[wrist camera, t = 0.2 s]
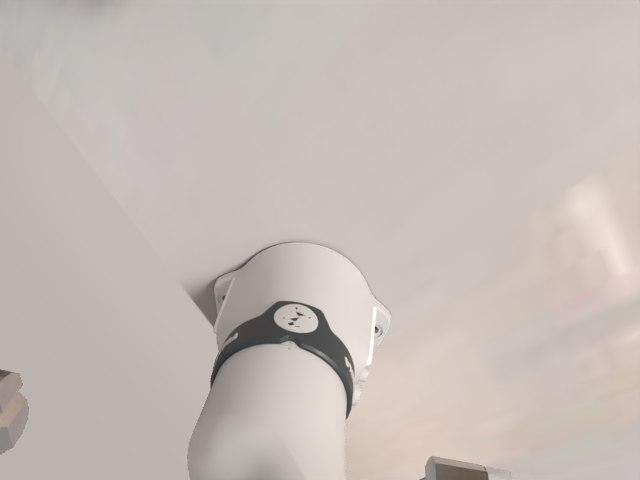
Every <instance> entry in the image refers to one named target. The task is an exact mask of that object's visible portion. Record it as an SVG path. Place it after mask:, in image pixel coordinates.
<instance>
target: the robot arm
mask: <svg viewBox="0 0 640 480" xmlns="http://www.w3.org/2000/svg"><path fill="white" fill-rule="evenodd" d="M214 294H215V302H216V310H217V320H216V322H215V325H214V333H216V334H217V344H218V349H219V353H218V355H217V357H216V360H215V363H214V367H213V373H212V376H211V390H210V393H209V395H208V397H207V400H206V402H205V405H204V407H203V409H202V412H201V415H200V417H199V419H198V422H197V424H196V426H195V429H194V431H193V434H192V437H191V439H190V442H189V448H188V470H189V475H190V478H191V480H346V471H345V422H346V419H347V418H348V416H349V413H350V411H351V406H354V405H357V403H358V401H359V398H360V395H361V391H362V385H360V384H359V383H357V382H358V381H361V382H365V381H366V379H367V377H368V373H369V369H368V368H366V367H367V365H370V364H371V360H372V356H373V355H374V353H375V351H376V349H377V348H378V346H379V344H380V342H381V341H382V339H383V337H384V335H385V334H386V332H387V330H388V328H389V326H390V322H391V315H390V313H389V311H388V310H387V309H386V308H385V307H384V306H383V305H382V304H381V303H380V302H378V301H377V300H376V299H375V298H374V297H373V295H372V293H371V292H370V289H369V287H368V285H367V283H366V281H365V279H364V277H363V276H362V274H361V273H360V271H359V270H358V269H357V268H356V267H355V266H354V265H353V264H352V263H351V262H350V261H349V260H348V259H346V258H345V257H344V256H342V255H341V254H339V253H337V252H335V251H333V250H331V249H329V248H326V247H323V246H320V245H316V244H311V243H303V242H292V243H284V244H279V245H276V246H273V247H270V248H268V249H266V250H263V251H262V252H260V253H259V254H257V255H256V256H254V257H253V258H252V259H251V260H250V261H249V262H248V263H247V264H246V265H245V266H243V267H242V268H241V269H239V270H237V271H233V272H230V273H227V274H225V275H223V276H221V277H219V278H218V279H217V280H216V283H215V286H214ZM225 295H226V296H225ZM224 296H225V297H224ZM375 327H377V328H378V329H375ZM22 386H23V383H22V380H21V377H20V374H19V373H15V372H10V371H5V370H1V369H0V454H2V453H4V452H5V451H7V450H9V449H11V448H13V447H14V445H15V444H16V442H17V441H18V439H19V438H20V436H21V434H22V432H23V430H24V428H25V425H26V423H27V420H28V412H29V407H28V403H27V400H26V399H25V398H24V397H23V396H22V395H21V394H20V393H19V392H18V391H19V389H20V388H21V387H22ZM425 473H426V477H424V478H422V479H420V480H514V477H513V475H512V474H511V472H509V471H505V470H500V469H494V468H488V467H483V466H482V465H478V464H472V463H467V462H462V461H456V460H451V459H445V458H440V457H435V456H432V457H430V458H429V459H428V461H427V464H426V466H425Z"/></svg>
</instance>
